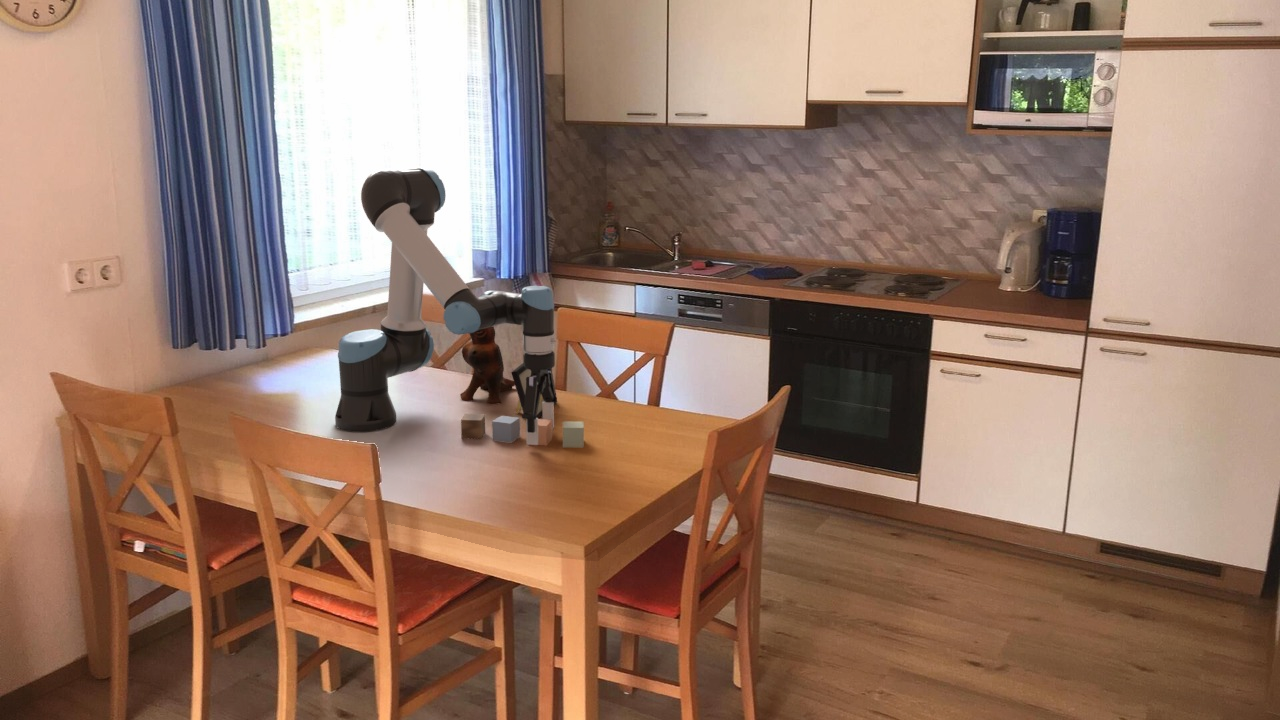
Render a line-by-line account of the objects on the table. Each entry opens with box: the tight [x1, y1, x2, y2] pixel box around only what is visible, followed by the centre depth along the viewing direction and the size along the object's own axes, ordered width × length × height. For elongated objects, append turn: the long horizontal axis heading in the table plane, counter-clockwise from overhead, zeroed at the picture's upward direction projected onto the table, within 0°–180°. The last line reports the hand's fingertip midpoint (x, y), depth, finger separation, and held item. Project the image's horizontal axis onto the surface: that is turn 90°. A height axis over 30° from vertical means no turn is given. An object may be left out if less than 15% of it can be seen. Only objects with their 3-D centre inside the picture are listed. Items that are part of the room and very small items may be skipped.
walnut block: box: [460, 413, 486, 440], centre depth 247 cm, size 5×5×5 cm
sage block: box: [562, 421, 585, 448], centre depth 242 cm, size 5×5×5 cm
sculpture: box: [459, 326, 515, 405], centre depth 280 cm, size 19×18×30 cm
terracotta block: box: [537, 418, 553, 446], centre depth 244 cm, size 5×5×5 cm
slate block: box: [491, 415, 521, 444], centre depth 246 cm, size 5×5×5 cm
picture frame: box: [510, 363, 558, 421], centre depth 265 cm, size 23×9×15 cm, turn 168°
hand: (540, 435), depth 244 cm, fingers open, 13 cm apart
